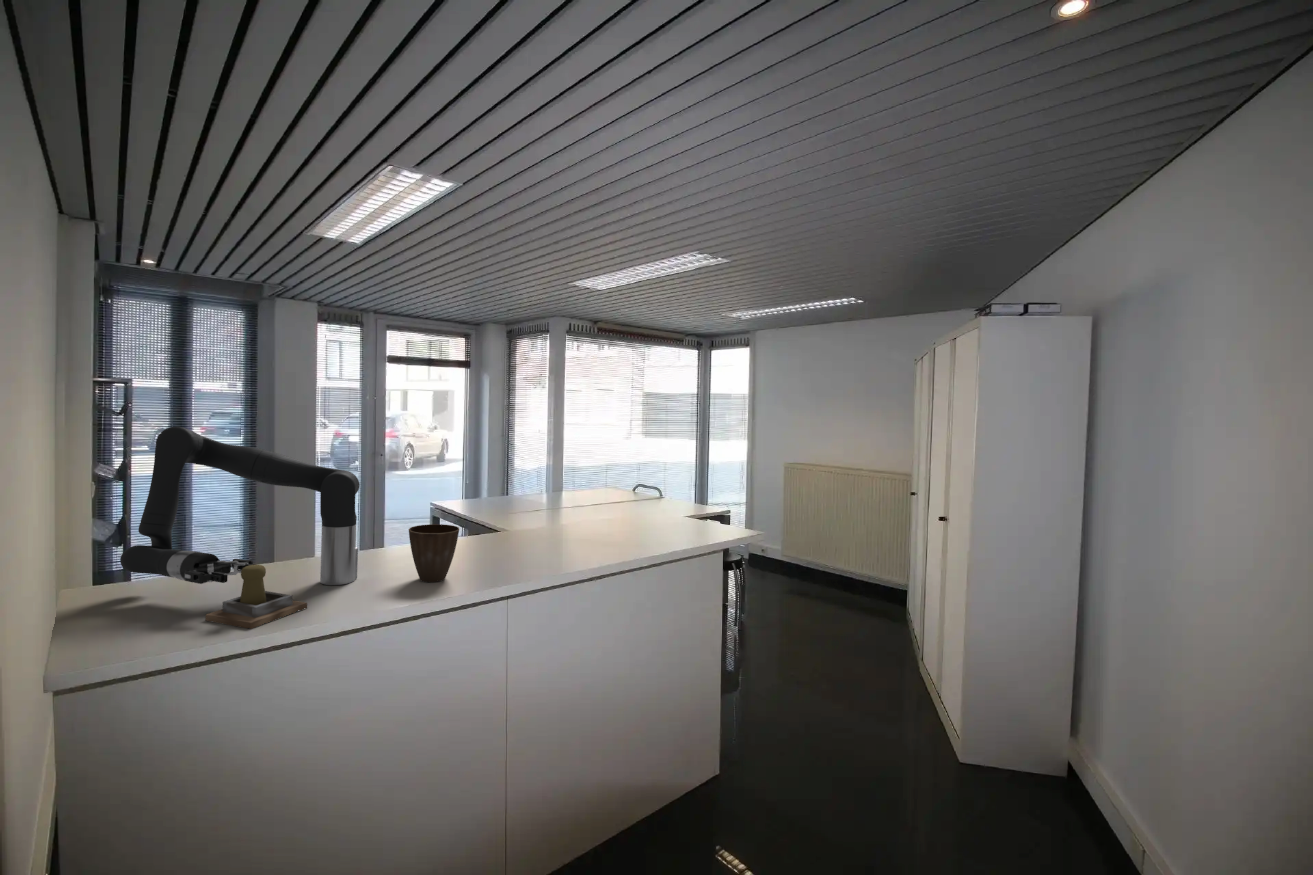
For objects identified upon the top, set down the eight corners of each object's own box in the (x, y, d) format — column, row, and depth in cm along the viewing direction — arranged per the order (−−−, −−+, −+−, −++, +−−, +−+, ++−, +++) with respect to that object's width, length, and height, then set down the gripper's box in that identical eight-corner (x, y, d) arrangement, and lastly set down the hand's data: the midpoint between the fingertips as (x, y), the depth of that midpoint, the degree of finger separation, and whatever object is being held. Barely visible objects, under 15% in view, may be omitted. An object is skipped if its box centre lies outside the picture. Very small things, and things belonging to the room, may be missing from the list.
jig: (264, 601, 161) (264, 586, 161) (306, 608, 157) (307, 593, 157) (205, 620, 146) (205, 604, 145) (250, 628, 142) (251, 612, 142)
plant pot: (404, 574, 192) (406, 524, 191) (453, 570, 199) (455, 522, 198) (409, 587, 179) (411, 534, 178) (461, 583, 186) (463, 532, 185)
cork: (272, 604, 154) (272, 562, 153) (259, 613, 148) (259, 569, 147) (246, 604, 153) (247, 562, 153) (232, 612, 147) (233, 568, 147)
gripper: (165, 558, 150) (215, 566, 145) (220, 546, 163) (267, 553, 159) (164, 587, 150) (214, 596, 146) (219, 573, 164) (266, 581, 159)
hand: (242, 574), depth 152 cm, fingers open, 8 cm apart
